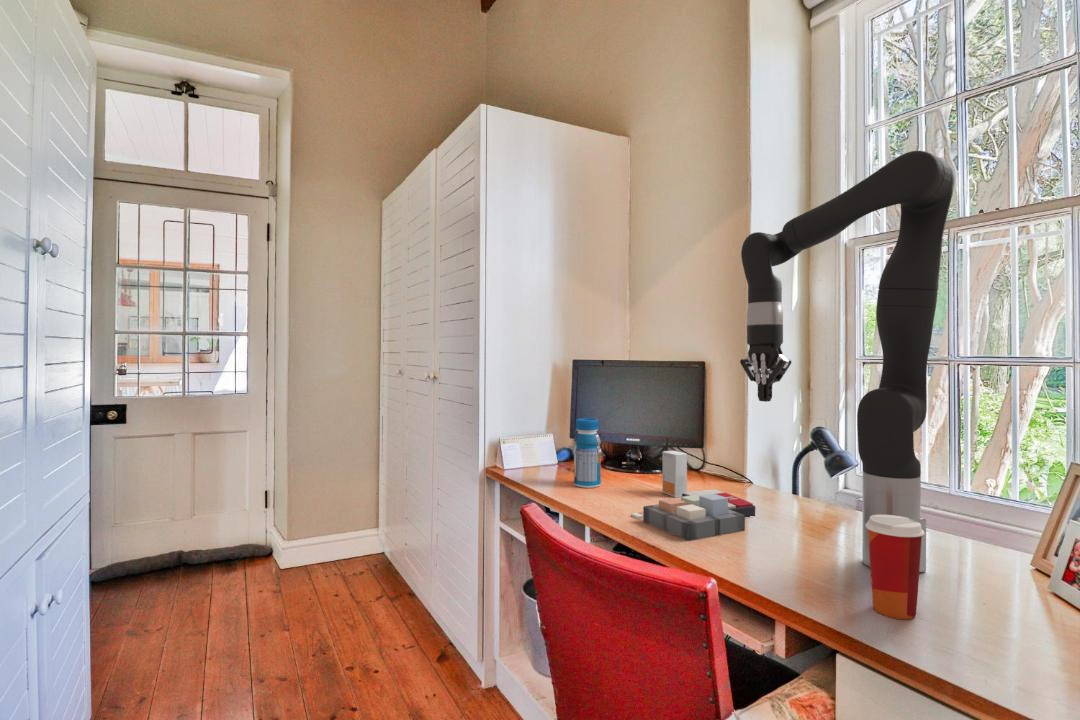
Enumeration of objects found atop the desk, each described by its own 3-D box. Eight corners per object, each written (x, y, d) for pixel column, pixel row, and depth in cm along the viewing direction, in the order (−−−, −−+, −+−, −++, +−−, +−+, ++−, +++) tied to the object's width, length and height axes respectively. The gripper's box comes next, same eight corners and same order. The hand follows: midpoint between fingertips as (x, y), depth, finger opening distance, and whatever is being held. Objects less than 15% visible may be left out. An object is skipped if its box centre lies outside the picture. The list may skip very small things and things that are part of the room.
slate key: (727, 515, 129) (727, 498, 129) (712, 518, 127) (712, 500, 127) (714, 510, 133) (714, 493, 133) (699, 513, 131) (699, 495, 131)
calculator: (720, 507, 135) (681, 490, 149) (719, 525, 135) (680, 507, 149) (756, 503, 139) (715, 486, 153) (755, 520, 139) (714, 502, 153)
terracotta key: (686, 519, 132) (686, 502, 132) (670, 521, 130) (670, 504, 130) (673, 514, 136) (673, 497, 136) (658, 517, 134) (658, 500, 134)
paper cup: (901, 600, 92) (902, 513, 91) (936, 622, 84) (936, 527, 84) (854, 601, 91) (854, 513, 91) (884, 623, 84) (884, 528, 84)
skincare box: (661, 493, 163) (661, 451, 163) (673, 491, 164) (673, 450, 164) (675, 498, 157) (675, 454, 157) (687, 496, 159) (687, 453, 159)
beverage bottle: (583, 489, 167) (583, 421, 167) (568, 484, 174) (567, 418, 174) (607, 486, 171) (606, 419, 171) (591, 481, 178) (591, 417, 178)
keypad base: (744, 530, 128) (744, 514, 128) (688, 540, 121) (688, 524, 121) (696, 512, 142) (696, 498, 142) (643, 521, 135) (643, 506, 135)
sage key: (707, 515, 135) (707, 498, 135) (693, 518, 133) (693, 501, 133) (695, 511, 139) (695, 494, 139) (680, 513, 137) (680, 496, 137)
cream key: (705, 527, 126) (705, 509, 126) (689, 529, 124) (689, 511, 124) (692, 521, 130) (692, 504, 130) (676, 524, 128) (676, 506, 128)
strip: (690, 510, 144) (690, 507, 144) (638, 518, 137) (638, 515, 137) (683, 507, 147) (683, 505, 147) (631, 515, 140) (631, 512, 140)
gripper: (801, 322, 123) (801, 402, 123) (754, 325, 135) (754, 398, 135) (776, 321, 120) (776, 404, 120) (730, 324, 132) (730, 399, 132)
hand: (764, 401), depth 128 cm, fingers closed
